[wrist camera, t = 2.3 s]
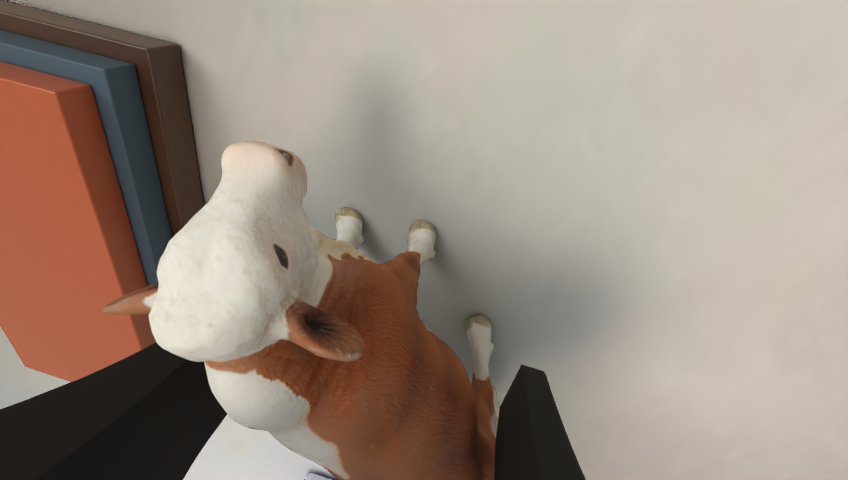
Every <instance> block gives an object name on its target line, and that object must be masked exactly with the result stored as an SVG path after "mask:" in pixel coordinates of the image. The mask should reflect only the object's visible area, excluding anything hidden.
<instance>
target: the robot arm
mask: <svg viewBox="0 0 848 480" xmlns="http://www.w3.org/2000/svg"><path fill="white" fill-rule="evenodd" d="M226 415H227V413H226V411H225V410H224V409H223V407H222V406H221V405H220V403H219V402H218V401H217V399H216V398H215V396H214V394H213V393H212V390H211V388H210V385H209V382H208V377H207V373H206V368H205V364H204V361H202V362H195V361H190V360H187V359H185V358H182V357H180V356H177V355H175V354H173V353H171V352H169V351H167V350H165V349H163V348H162V347H161V346H159V345H158V344H157V342H155V343H154V344H152V345H150V346H148V347H146V348H144V349H142V350H140V351H138V352H136V353H134V354H132V355H130V356H128V357H126V358H124V359H122V360H120V361H118V362H116V363H114V364H112V365H109V366H107V367H105V368H103V369H101V370H98V371H96V372H94V373H92V374H90V375H87V376H85V377H83V378H80V379H78V380H75V381H73V382H71V383H68V384H66V385H63V386H61V387H58V388H56V389H53V390H50V391H48V392H45V393H43V394H40V395H38V396H35V397H33V398H30V399H28V400H25V401H23V402H20V403H17V404H14V405H12V406H9V407H6V408H3V409H0V480H183V478H184V477H185V475H186V473H187V472H188V470H189V468H190V467H191V465H192V464H193V462H194V460H195V459H196V457H197V456H198V454H199V453H200V451H201V450H202V448H203V447H204V445H205V444H206V442H207V441H208V439H209V438H210V437H211V435H212V434H213V433H214V431H215V430H216V429H217V427H218V426H219V425H220V423H221V422H222V420H223V419H224V418H225V416H226ZM304 480H332V479H329V478H326V477H323V476H320V475H317V474H314V473H308V474H307V475H306V477H305V479H304ZM494 480H586V479H585V477H584V475H583V473H582V470H581V468H580V466H579V463H578V461H577V458H576V456H575V453H574V451H573V449H572V446H571V444H570V441H569V439H568V436H567V434H566V431H565V428H564V426H563V423H562V420H561V418H560V415H559V412H558V409H557V407H556V404H555V401H554V398H553V395H552V392H551V389H550V386H549V383H548V380H547V377H546V374H545V373H544V371H541V370H538V369H534V368H531V367H528V366H524V365H521V367H520V369H519V371H518V373H517V375H516V377H515V379H514V381H513V383H512V385H511V387H510V389H509V391H508V393H507V395H506V396H505V398H504V400H503V402H502V404H501V406H500V410H499V417H498V425H497V433H496V441H495V471H494Z"/></svg>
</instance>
